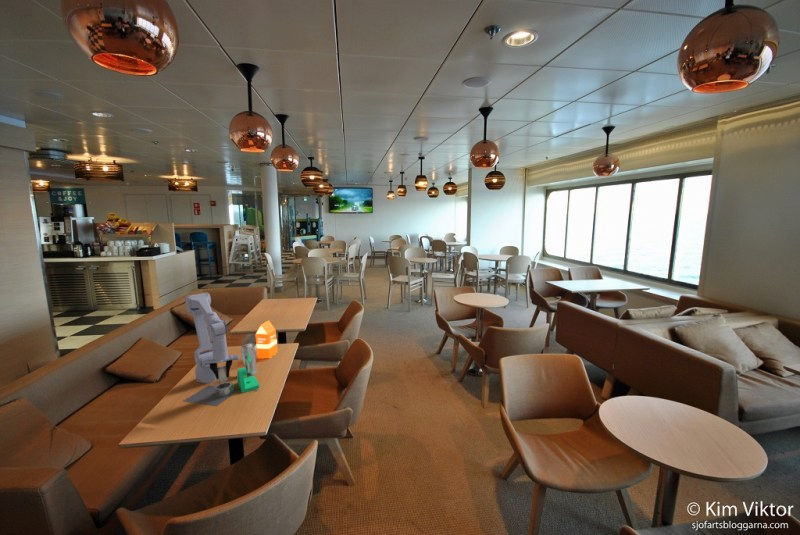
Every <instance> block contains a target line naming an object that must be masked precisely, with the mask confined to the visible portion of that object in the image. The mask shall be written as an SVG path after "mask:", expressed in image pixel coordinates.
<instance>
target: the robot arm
mask: <svg viewBox="0 0 800 535" xmlns="http://www.w3.org/2000/svg"><path fill="white" fill-rule="evenodd" d="M184 299H185V300H184V302H185V306H186V307H185V308H186V311H187V313H188V314H191V315H192V317H193V322H194V327H195V331H196V335H197V339H198V344H199V346H198V348H196V350H194V353H193V354H194V361H195V366H196V367H195V369H194V374H195V380H196V382H197V383H203V384H210V383H214V382H216V381H217V380H219V379H218V370H217V368H218V367H219V366H218V364H222V363H225V366H226V370H227V378H228V379H229V378H230V370H231V366H232V364H233V362H234V361H239V360H240V354H228V346H227V345H228V344H227V337H226V334H227V333H228V326H227V324H226V322H225V321H224V320H221V319H220V317H219V316H218V314H217V312H215V311H213V310H212V307H211V303H212V298H211V295H210V293H209V292H207V291H206V292H203V293H202V292H201V293H198V294H190V295H186V296H185V298H184Z"/></svg>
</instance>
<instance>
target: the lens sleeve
mask: <svg viewBox="0 0 800 535" xmlns="http://www.w3.org/2000/svg"><path fill="white" fill-rule="evenodd" d="M214 386H215V395H216V396H217V397H225V396H228V395H230V394H232V393H233V391H234V389H235V388H234V383H233V382H232V381H224V382H219V383H218V384H217V385H214Z"/></svg>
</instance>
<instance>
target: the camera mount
mask: <svg viewBox="0 0 800 535" xmlns="http://www.w3.org/2000/svg"><path fill="white" fill-rule="evenodd" d="M236 370H237V373H236V376H237V385H238V387H239V389H240V392H241V393H242V394H244V393H247V392H250V391H255V390H258V389H260V383H259V381H258V380H257V378H256V376H255V375H251V376H247V371H246V367H245V366H243V367H240V368H237V369H236Z"/></svg>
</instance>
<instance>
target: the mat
mask: <svg viewBox="0 0 800 535" xmlns="http://www.w3.org/2000/svg"><path fill="white" fill-rule="evenodd" d="M215 386H216V385H210V384H209V385H207V386H205V387H204V388H202V389H201V390H199V391H197V392H195V393H193V394H192V395H190V396H189V397H187V398H186V399H184V400H183V402H187V403H192V404H198V405H204V406H206V405H207V406H211V407H212V406H213V407H218V406H219V405H221V404H222V403H223V402H225V401H226V400H228V399H229V398H230V397H232V396H234V395H235V394H236V393H238V392H239V391H241V389H240V388H239V389H237V388H234V391H233V393H232V394H230V395H228V396H225V397H217V396H216V395H215Z"/></svg>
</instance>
